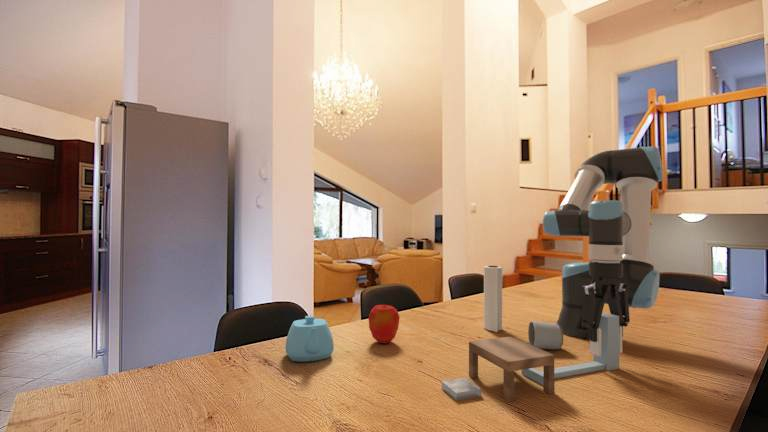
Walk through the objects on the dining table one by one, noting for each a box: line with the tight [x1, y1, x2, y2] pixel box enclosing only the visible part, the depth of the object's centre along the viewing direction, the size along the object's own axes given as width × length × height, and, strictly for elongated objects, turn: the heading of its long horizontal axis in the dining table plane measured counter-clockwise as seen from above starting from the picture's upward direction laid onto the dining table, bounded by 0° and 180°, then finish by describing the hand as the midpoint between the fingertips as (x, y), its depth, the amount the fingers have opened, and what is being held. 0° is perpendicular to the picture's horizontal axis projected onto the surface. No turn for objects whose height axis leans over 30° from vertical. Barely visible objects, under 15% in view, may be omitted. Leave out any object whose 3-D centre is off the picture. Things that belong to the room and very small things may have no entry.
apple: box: [368, 304, 401, 344], centre depth 113 cm, size 9×9×12 cm
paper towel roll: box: [483, 265, 503, 333], centre depth 129 cm, size 7×6×21 cm
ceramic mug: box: [527, 320, 564, 350], centre depth 111 cm, size 11×8×8 cm
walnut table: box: [468, 336, 555, 403], centre depth 85 cm, size 12×14×8 cm
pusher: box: [521, 312, 620, 387], centre depth 92 cm, size 26×7×13 cm, turn 111°
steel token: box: [441, 377, 482, 402], centre depth 80 cm, size 6×6×2 cm
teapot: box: [285, 314, 334, 362], centre depth 101 cm, size 13×11×18 cm
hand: (606, 352), depth 95 cm, fingers open, 7 cm apart
